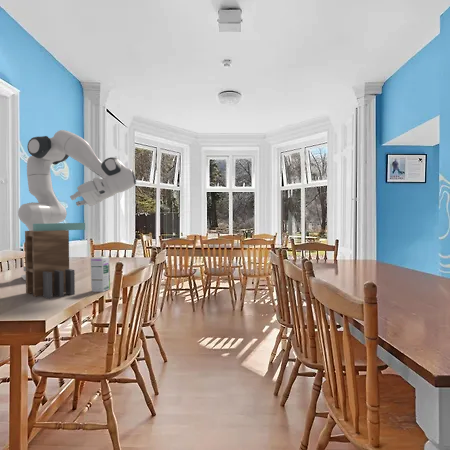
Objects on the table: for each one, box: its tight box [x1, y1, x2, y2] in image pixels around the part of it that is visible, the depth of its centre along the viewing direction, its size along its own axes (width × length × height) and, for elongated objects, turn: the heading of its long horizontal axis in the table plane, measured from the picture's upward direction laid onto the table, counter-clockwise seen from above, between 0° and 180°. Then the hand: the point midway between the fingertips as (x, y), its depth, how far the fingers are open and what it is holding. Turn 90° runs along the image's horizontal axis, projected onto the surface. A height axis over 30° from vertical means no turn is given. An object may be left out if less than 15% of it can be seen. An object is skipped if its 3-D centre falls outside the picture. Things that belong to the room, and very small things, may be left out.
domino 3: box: [65, 268, 76, 296], centre depth 156 cm, size 2×5×10 cm, turn 47°
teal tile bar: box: [33, 222, 86, 231], centre depth 163 cm, size 3×21×3 cm, turn 136°
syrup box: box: [90, 255, 111, 293], centre depth 163 cm, size 6×6×14 cm
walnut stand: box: [24, 230, 70, 297], centre depth 159 cm, size 10×14×26 cm
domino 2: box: [54, 270, 65, 297], centre depth 153 cm, size 2×5×10 cm, turn 46°
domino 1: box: [42, 271, 53, 299], centre depth 150 cm, size 2×5×10 cm, turn 46°
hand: (73, 201), depth 173 cm, fingers open, 8 cm apart
